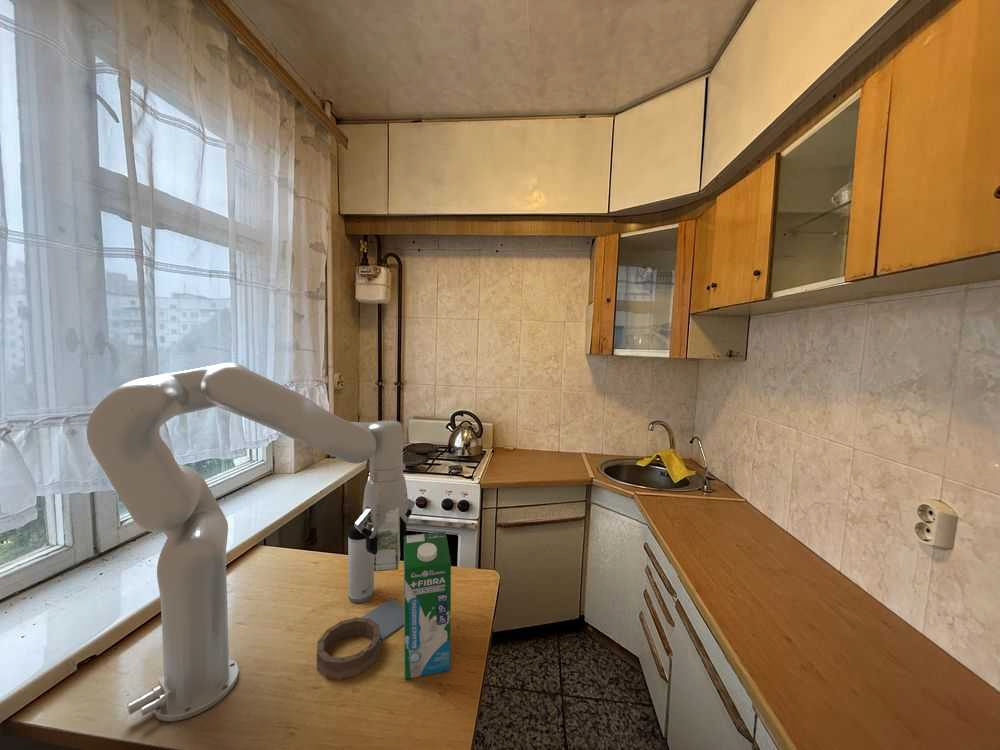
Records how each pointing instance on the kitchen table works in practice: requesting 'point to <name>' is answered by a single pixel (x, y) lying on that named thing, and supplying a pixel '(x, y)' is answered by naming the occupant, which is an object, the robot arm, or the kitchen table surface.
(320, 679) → the kitchen table surface
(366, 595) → the travel mug
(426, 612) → the milk carton
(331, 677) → the collar
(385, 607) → the mat
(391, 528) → the syrup box
